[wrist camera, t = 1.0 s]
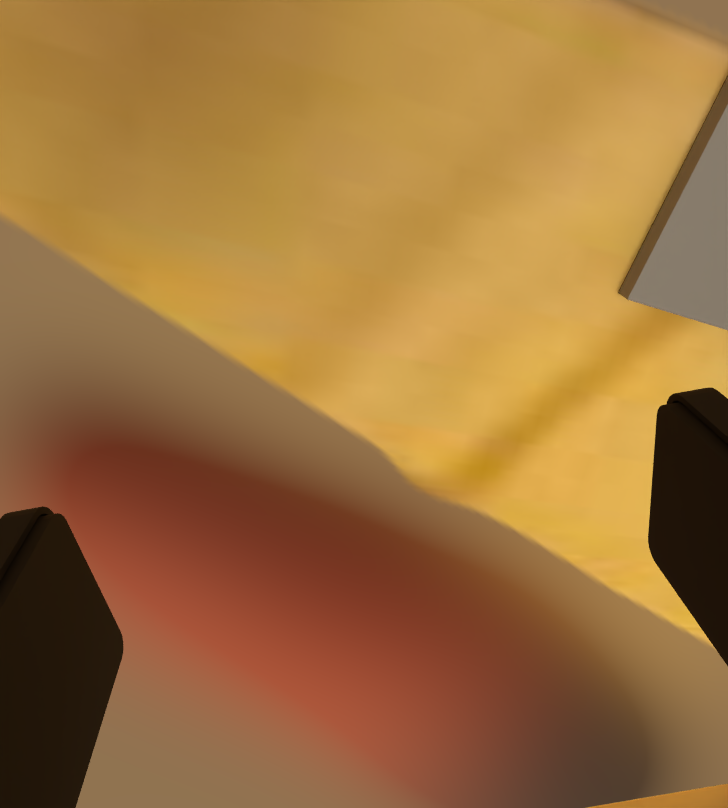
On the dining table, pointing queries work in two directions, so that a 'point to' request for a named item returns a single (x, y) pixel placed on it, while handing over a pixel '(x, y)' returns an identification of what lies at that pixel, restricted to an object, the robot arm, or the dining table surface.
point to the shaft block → (690, 233)
